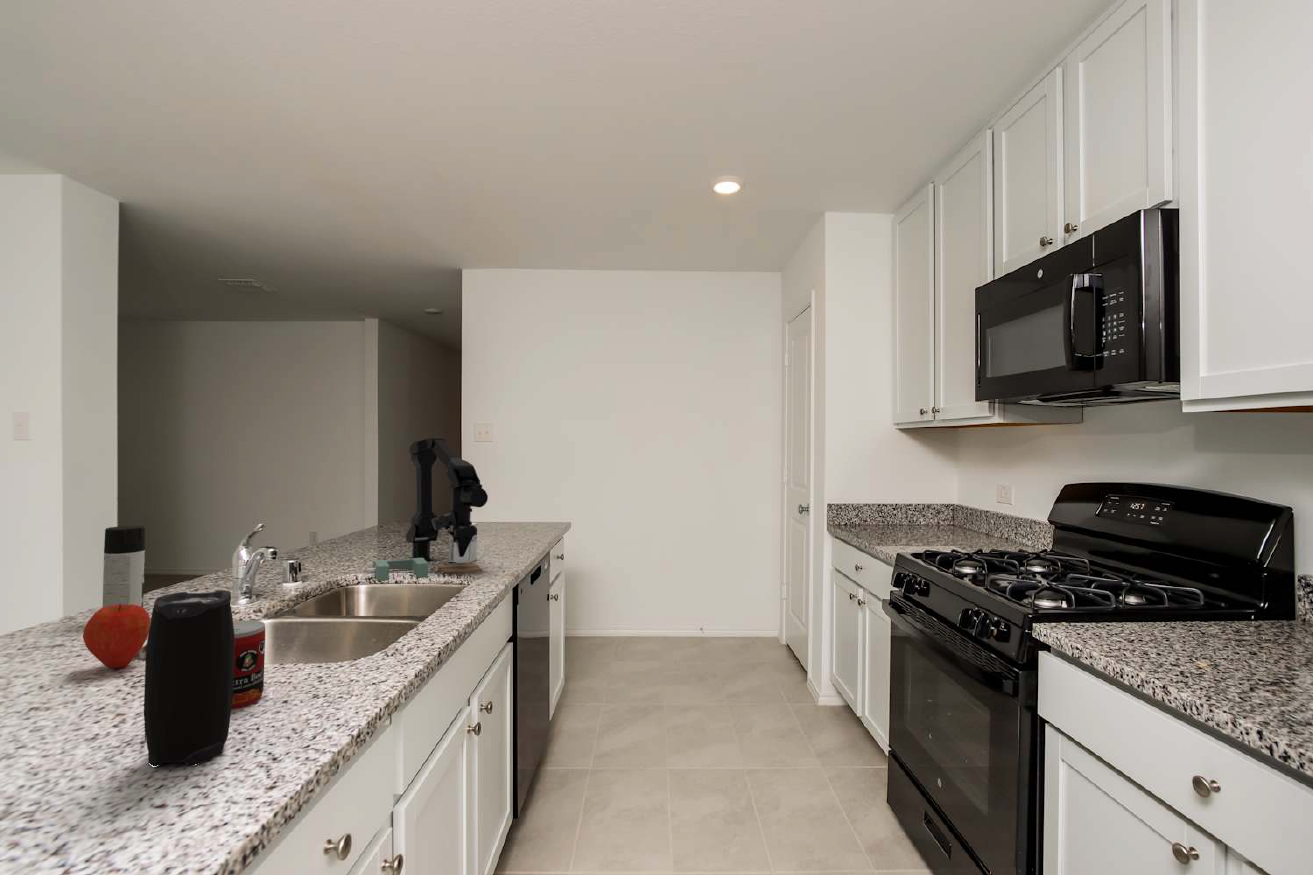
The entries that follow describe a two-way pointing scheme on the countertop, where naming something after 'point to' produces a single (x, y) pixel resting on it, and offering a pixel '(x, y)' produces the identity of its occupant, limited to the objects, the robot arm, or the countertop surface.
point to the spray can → (124, 566)
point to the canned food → (248, 662)
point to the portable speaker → (189, 677)
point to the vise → (398, 567)
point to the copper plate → (460, 568)
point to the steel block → (455, 553)
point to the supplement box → (471, 547)
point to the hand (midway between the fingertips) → (459, 555)
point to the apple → (117, 634)
